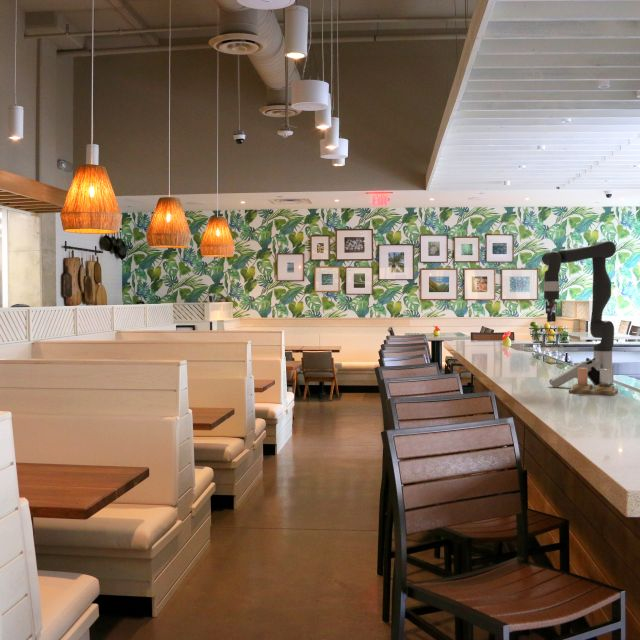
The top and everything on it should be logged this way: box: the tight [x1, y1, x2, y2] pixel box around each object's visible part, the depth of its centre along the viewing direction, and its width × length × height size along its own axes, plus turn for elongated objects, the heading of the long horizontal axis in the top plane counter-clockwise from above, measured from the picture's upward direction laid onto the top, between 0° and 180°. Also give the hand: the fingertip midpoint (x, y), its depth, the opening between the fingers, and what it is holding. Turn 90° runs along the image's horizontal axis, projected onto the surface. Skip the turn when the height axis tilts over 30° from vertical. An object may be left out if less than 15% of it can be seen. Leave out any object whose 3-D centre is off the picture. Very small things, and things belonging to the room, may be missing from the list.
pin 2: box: [600, 369, 611, 387], centre depth 347 cm, size 4×4×10 cm
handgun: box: [548, 357, 603, 388], centre depth 373 cm, size 4×28×15 cm
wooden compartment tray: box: [568, 383, 619, 396], centre depth 350 cm, size 20×13×4 cm, turn 59°
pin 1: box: [577, 368, 589, 386], centre depth 352 cm, size 4×4×10 cm
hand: (551, 321), depth 381 cm, fingers open, 8 cm apart
